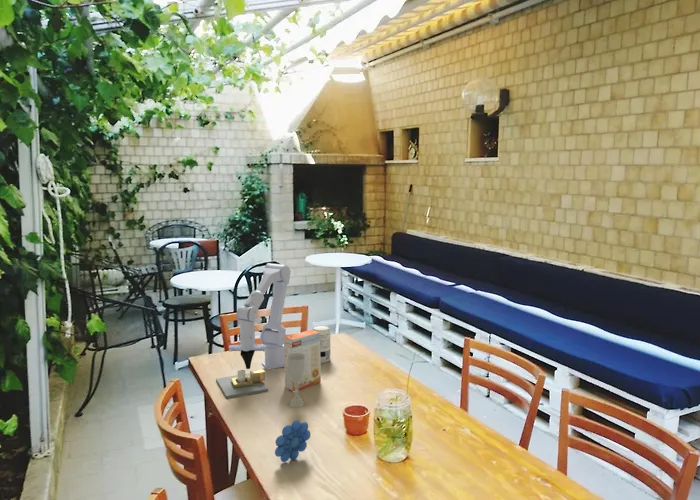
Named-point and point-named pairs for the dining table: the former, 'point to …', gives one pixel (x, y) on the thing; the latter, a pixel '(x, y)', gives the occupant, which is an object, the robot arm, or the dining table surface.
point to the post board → (233, 391)
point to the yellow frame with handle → (249, 379)
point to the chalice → (296, 374)
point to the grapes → (292, 441)
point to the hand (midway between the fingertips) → (248, 368)
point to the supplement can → (324, 342)
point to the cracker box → (311, 348)
